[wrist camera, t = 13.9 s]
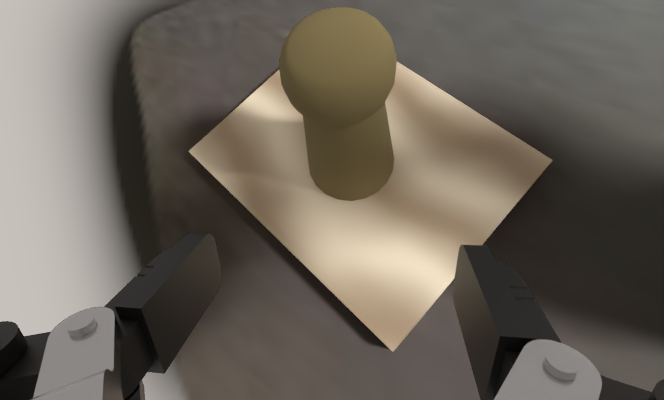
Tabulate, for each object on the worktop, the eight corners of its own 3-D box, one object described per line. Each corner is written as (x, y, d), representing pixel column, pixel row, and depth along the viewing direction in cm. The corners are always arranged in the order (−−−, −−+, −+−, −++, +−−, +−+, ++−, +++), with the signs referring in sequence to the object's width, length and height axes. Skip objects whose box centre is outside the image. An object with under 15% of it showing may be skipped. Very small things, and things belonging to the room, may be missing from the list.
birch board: (334, 35, 30) (332, 21, 28) (542, 169, 23) (552, 160, 22) (198, 160, 27) (188, 151, 26) (391, 350, 21) (392, 352, 19)
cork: (391, 120, 24) (404, -25, 14) (397, 199, 22) (417, 95, 12) (309, 126, 25) (264, -10, 15) (307, 202, 23) (254, 107, 13)
